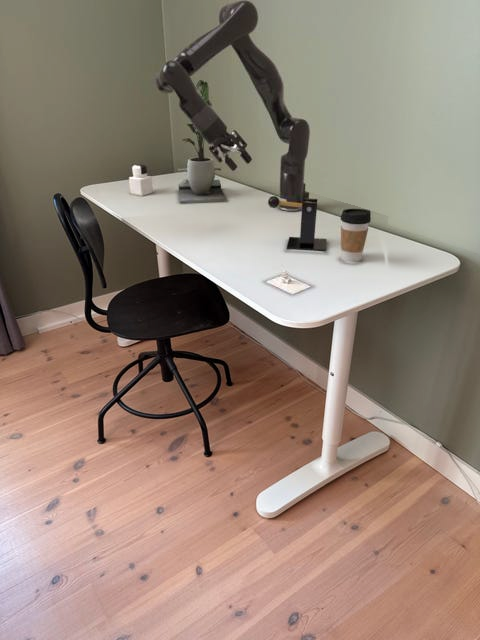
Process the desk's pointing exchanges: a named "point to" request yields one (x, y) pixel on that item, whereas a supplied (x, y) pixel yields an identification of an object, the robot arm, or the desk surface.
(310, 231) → the black lever stand
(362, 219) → the coffee cup
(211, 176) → the potted plant
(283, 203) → the black ball knob lever
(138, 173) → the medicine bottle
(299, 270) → the desk surface
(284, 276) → the adhesive hook
